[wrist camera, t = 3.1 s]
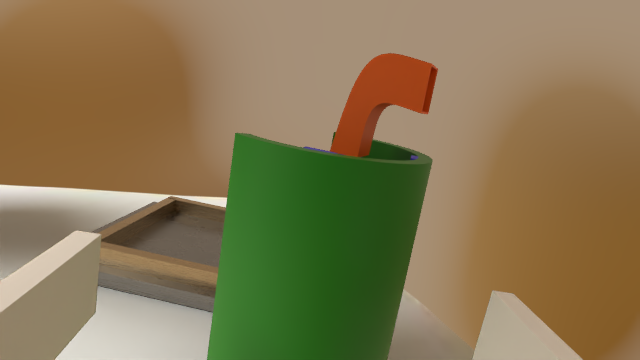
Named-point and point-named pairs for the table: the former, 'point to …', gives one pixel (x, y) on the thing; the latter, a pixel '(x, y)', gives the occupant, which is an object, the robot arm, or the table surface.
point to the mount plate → (165, 252)
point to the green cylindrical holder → (323, 232)
